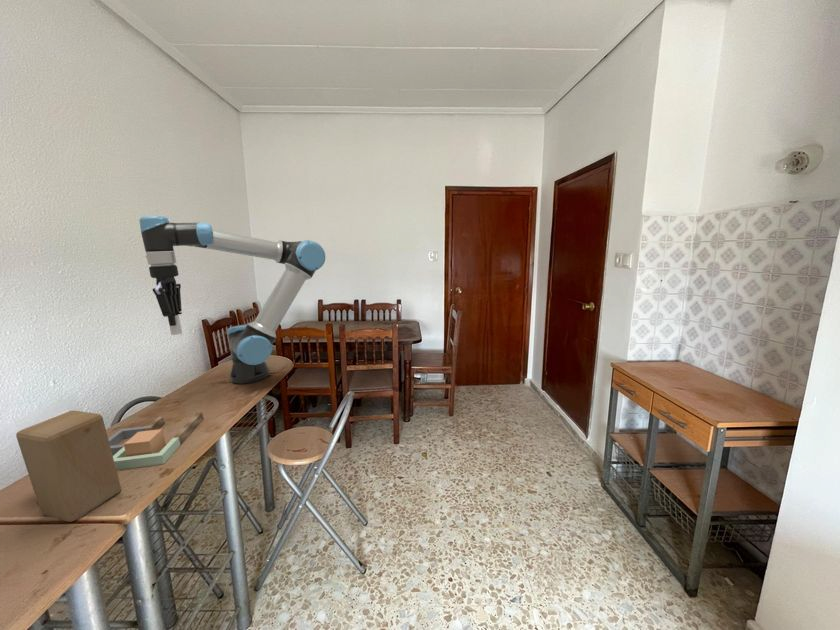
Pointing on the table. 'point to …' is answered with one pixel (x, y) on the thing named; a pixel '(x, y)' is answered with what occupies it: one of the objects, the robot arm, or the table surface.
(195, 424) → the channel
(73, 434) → the wooden block
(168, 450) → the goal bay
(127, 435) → the trap bay
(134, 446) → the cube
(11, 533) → the table surface
